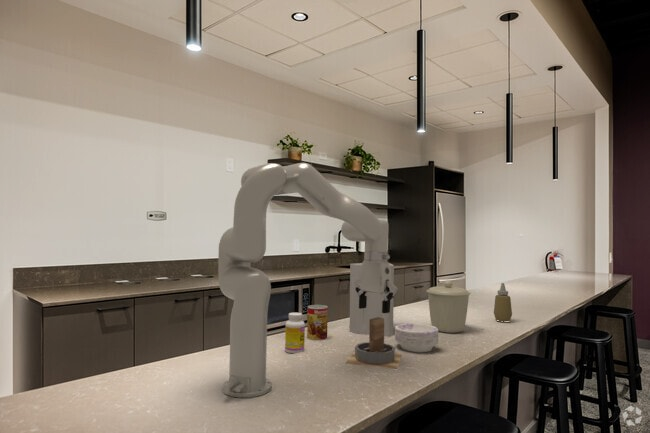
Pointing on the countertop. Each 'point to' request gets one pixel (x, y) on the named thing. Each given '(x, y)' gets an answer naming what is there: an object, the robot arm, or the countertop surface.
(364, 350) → the clip
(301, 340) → the supplement bottle
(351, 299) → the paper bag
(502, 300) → the squeeze bottle
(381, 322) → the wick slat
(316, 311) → the canned food
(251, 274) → the robot arm
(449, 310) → the canister
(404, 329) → the paper bowls
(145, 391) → the countertop surface
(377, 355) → the round grey dish
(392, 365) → the cork mat
